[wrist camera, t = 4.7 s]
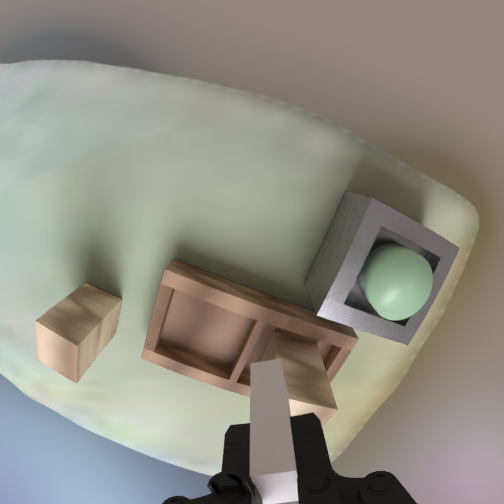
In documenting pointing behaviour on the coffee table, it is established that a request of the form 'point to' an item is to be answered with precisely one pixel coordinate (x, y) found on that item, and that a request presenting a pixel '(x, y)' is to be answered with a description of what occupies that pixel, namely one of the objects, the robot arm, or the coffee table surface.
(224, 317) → the wooden divided tray
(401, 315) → the button
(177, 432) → the coffee table surface
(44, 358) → the billet
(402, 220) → the grey square bin
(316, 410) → the seated billet
